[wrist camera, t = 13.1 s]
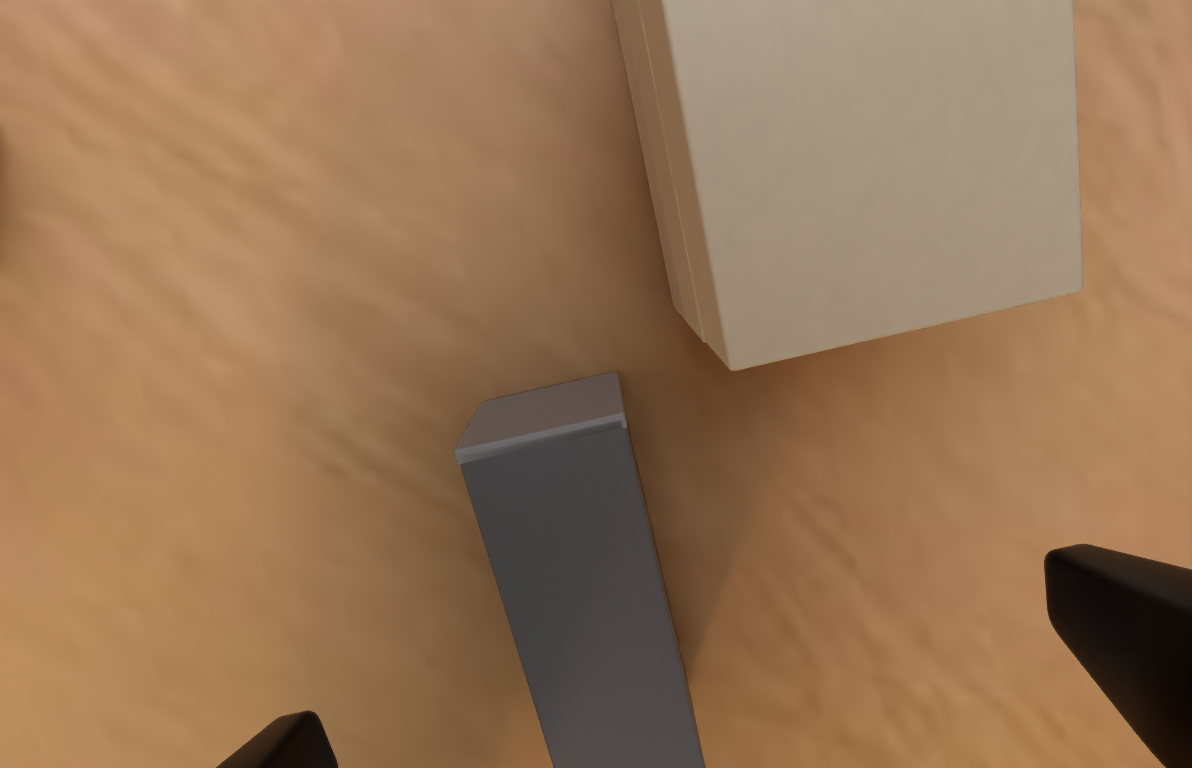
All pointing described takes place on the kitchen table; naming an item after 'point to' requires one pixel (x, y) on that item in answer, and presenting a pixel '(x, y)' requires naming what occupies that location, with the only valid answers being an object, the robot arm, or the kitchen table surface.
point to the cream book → (867, 163)
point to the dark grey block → (581, 575)
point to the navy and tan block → (657, 160)
